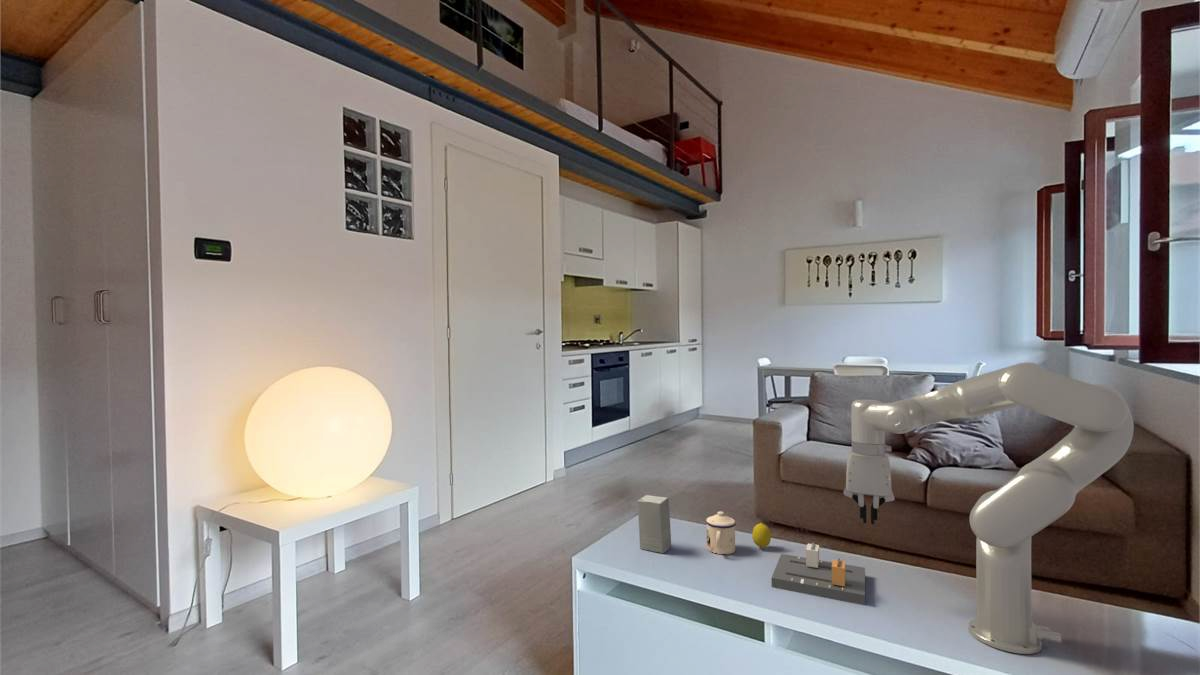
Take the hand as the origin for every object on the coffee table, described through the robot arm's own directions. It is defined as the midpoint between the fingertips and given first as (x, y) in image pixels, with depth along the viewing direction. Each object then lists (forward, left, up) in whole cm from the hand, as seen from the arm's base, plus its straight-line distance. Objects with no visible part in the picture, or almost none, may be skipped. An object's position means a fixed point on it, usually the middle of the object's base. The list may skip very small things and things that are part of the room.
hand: (868, 521), depth 134 cm
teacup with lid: (+41, -14, -19) cm, 47 cm away
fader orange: (+7, 0, -16) cm, 18 cm away
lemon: (+30, -22, -19) cm, 42 cm away
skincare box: (+60, -6, -19) cm, 63 cm away
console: (+12, -4, -19) cm, 23 cm away
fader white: (+14, -9, -16) cm, 23 cm away
